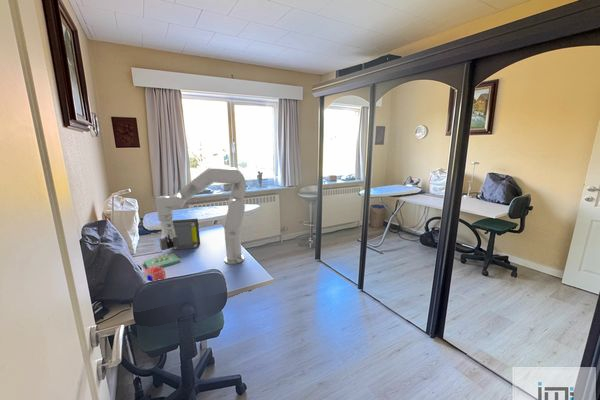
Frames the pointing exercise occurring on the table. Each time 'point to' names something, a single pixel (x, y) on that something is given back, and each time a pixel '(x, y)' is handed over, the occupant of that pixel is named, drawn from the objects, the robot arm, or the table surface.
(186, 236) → the electrical component
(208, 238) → the table surface
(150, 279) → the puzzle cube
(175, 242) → the block
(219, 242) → the table surface
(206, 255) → the table surface
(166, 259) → the header board
